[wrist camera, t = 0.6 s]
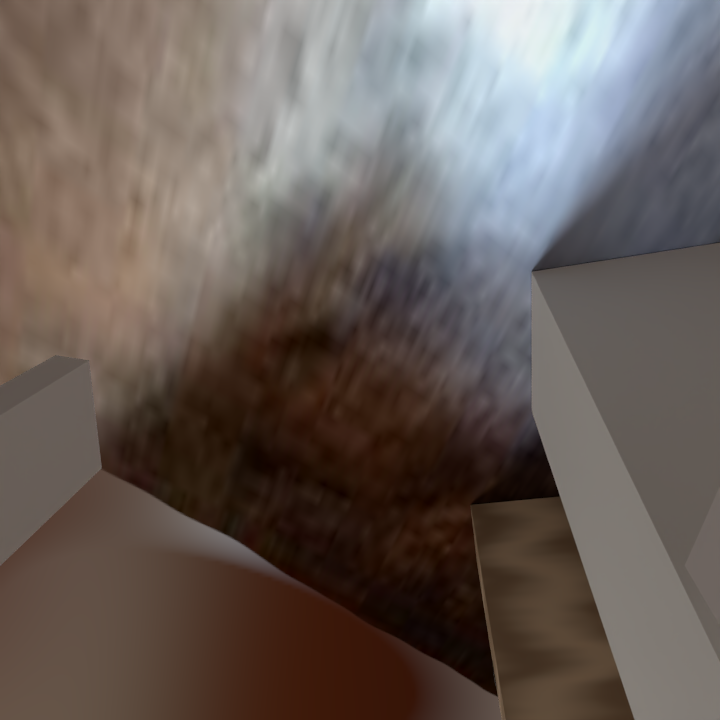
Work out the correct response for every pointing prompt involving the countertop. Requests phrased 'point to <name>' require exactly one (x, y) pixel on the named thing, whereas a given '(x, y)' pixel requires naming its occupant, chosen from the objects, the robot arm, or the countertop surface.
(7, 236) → the countertop surface
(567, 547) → the oak block
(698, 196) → the countertop surface
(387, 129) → the countertop surface
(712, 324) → the step block
